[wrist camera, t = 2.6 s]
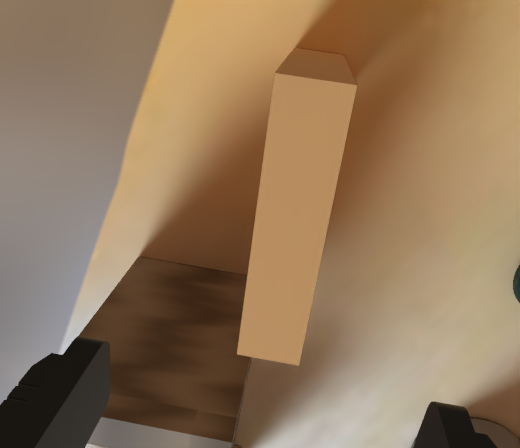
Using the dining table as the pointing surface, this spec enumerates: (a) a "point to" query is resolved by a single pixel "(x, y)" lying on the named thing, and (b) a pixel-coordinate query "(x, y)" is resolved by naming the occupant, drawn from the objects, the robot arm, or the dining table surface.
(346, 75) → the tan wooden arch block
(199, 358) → the shelf stand
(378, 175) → the dining table surface
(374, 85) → the dining table surface
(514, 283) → the coffee jar
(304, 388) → the dining table surface
